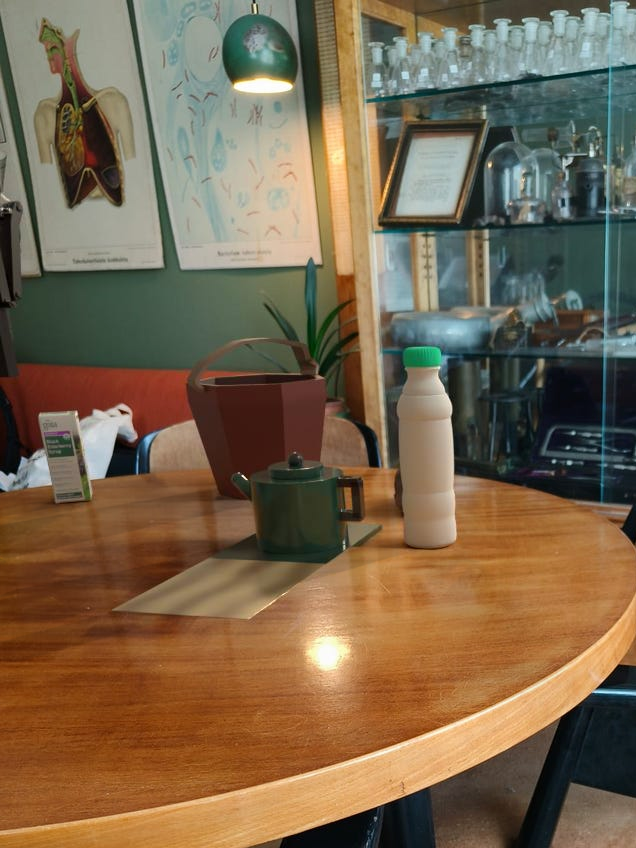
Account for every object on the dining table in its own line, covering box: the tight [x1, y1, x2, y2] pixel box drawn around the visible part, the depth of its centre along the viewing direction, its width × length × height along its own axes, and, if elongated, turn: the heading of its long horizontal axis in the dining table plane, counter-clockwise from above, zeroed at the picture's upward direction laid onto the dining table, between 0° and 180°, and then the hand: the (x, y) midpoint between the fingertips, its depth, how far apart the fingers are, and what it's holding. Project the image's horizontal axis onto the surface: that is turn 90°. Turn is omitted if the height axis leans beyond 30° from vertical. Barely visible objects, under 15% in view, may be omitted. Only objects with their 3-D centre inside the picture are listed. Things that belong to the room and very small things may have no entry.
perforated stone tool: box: [393, 467, 403, 512], centre depth 137 cm, size 15×5×7 cm, turn 1°
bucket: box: [185, 337, 327, 500], centre depth 150 cm, size 24×22×25 cm
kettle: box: [231, 452, 366, 554], centre depth 116 cm, size 18×12×12 cm, turn 75°
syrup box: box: [37, 410, 94, 505], centre depth 148 cm, size 6×6×14 cm
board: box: [111, 522, 383, 621], centre depth 110 cm, size 16×40×1 cm, turn 166°
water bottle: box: [396, 346, 457, 550], centre depth 114 cm, size 7×7×25 cm
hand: (3, 376), depth 91 cm, fingers closed
